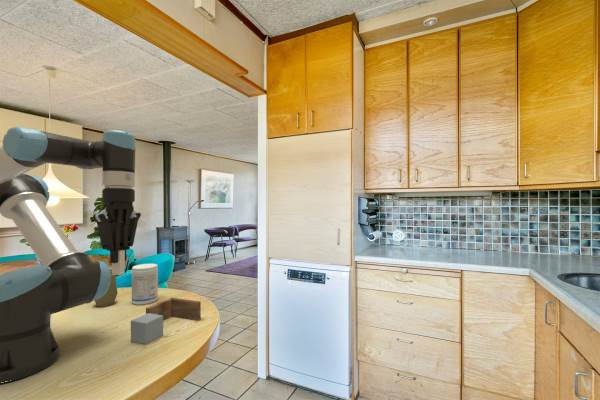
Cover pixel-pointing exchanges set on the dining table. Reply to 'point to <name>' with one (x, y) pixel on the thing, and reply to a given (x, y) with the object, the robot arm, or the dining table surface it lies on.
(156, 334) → the grey block
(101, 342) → the dining table surface
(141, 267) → the supplement tub
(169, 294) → the dining table surface
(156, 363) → the dining table surface
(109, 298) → the squeeze bottle
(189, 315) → the corner fence
